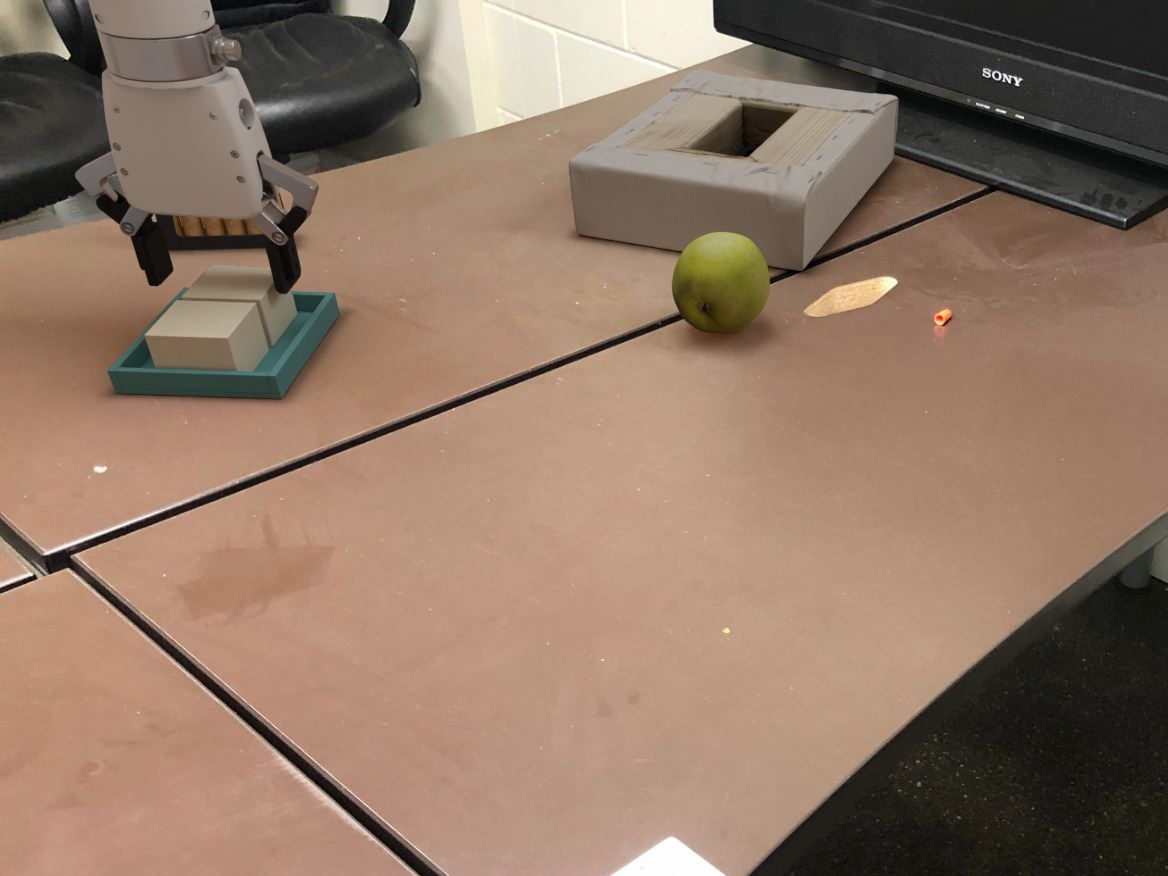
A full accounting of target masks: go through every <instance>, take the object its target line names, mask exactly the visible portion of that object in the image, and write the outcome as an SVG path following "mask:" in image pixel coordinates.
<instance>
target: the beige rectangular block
mask: <svg viewBox="0 0 1168 876" xmlns="http://www.w3.org/2000/svg"><path fill="white" fill-rule="evenodd" d="M189 287H190V288H189V289H188V290H187V291H186V292H185V293H184V294H183V295H182V297H181V298H182V300H187V301H215V302H244V303H256V305H257V309H258V312H259V316H260V320H261V323H262V327H263V330H264V334H265V337H266V341H267V344H268V347H273V346H274V345H275V344H276V342H277V341H278V340H279V338H280V337H281V335H282V334H283V333H284V331H285V330H286V329H287V327H288V326H289V325H290V323H291V322H292V321H293V319H294V318H295V317H296V315H297V310H296V306H295V302H294V298H293V294H292V291H293V290H292V288H291V289H290V291H289V292H288V293H287V294H279V293H278V292H277V291H276V289H275V285H274V281H273V277H272V273H271V268H270V266H249V265H248V266H246V265H245V266H244V265H221V264H220V265H219V264H217V265H214V264H210V265H209V266H208V267H207V268H206V269H205V270H204V271H203V272H202V273H201V275H200V276H198V277H197V278H196V280H195V281H194V282H193V283H192V284H191V285H190V286H189Z"/></svg>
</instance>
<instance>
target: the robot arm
mask: <svg viewBox="0 0 1168 876" xmlns="http://www.w3.org/2000/svg"><path fill="white" fill-rule="evenodd" d="M87 2H88V4H89V8H90V12H91V16H92V19H93V21H94V22H93V23H94V26H95V28H96V29H95V30H96V32H97V35H98V40H99V42H100V45H101V49H102V53H103V56H104V60H105V63H106V69H104V70H103V72H102V73H101V87H102V101H103V109H104V117H105V124H106V131H107V136H108V141H109V145H110V150H111V151H109V152H107V153H105V154H103V155H102V156H99V157H98V158H96V159H93V160H91V161H90V162H88V163H86V164H84V165H83V166H81V167H80V168H79V169H77V170H76V171H75V173H74V177H75V179H76V181H77V182H78V183H79V184H80V185H81V186H82V188H83V189H84V190H85V191H86V192H87V193H88V195H89V197H90V198H91V199H92V198H93V199H94V200H95V205H96V207H97V209H98V210H100V211H101V212H102V213H104V214H105V215H106V216H108V217H109V218H110V219H111V220H113V222H114V223H116V224H118V226H119V229H120V231H121V232H122V233H123V234H124V235H125V236H127V237H130V240H131V243H132V246H133V250H134V253H135V256H136V260H137V263H138V266H139V268H140V270H141V271H143V272H144V274H145V277H146V280H147V284H148V286H150V287H159V286H161V285H162V284H163V283H164V282H165V281H166V279H168V278H169V277H170V276H171V275H172V274H173V272H174V265H173V262H172V258H171V255H170V251H168V247H167V244H166V240H165V237H164V234H163V230H162V227H161V226H160V225H159V222H157V221H153V217H154V216H155V214H161V215H174V216H179V217H180V216H188V217H201V218H202V217H205V218H222V219H249V220H250V221H251V222H252V223H253V224H254V225H256V226H257V227H258V228H259V229H260V230H261V231H262V232H263V233H264V234H265V235H266V236H267V237H268V238H269V239H270V242H269V243H268V244H267V245H266V248H265V252H266V256H267V260H268V264H269V267H270V268H271V273H272V277H273V281H274V285H275V289H276V291H277V292H278V293H279V294H287V293H288V292H289V291H290V289H291V290H292V288H293V287H294V286H295V285H296V283H297V282H298V280H299V279H300V278H301V275H302V266H301V262H300V257H299V254H298V252H299V251H298V247H297V244H296V240H295V236H294V235H295V233H296V232H297V231H298V230H299V229H300V227H302V225H304V223H305V222H306V221H307V219H308V218H309V217H310V216H311V214H312V211H313V207H314V205H315V202H316V199H317V196H318V192H319V189H320V185H319V184H318V182H317V181H316V180H314V179H312V178H311V177H308V176H307V175H305V174H303V173H301V172H298V171H297V170H296V169H293V168H291V167H290V166H287V165H285V164H283V163H281V162H279V161H278V160H276V159H274V158H273V156H272V152H271V150H270V146H269V143H268V139H267V137H266V134H265V130H264V128H263V124H262V122H261V118H260V117H259V113H258V112H257V109H256V108H257V107H256V106H255V103H254V101H253V98H252V96H251V93H250V91H249V89H248V87H247V85H246V83H245V80H244V79H243V76H242V74H241V72H240V70H239V69H238V68H237V67H232V66H226V65H227V64H228V63H229V62H230V61H241V59H242V48H241V44H240V42H239V41H238V39H237V40H236V39H228V38H227V37H225V36H223V34H222V33H221V29H220V25H219V24H216V19H215V15H214V12H213V7H212V3H211V0H87ZM115 173H116V174H117V178H118V181H119V184H120V188H121V190H122V193H123V194H121V193H120V192H118V190H116V189H114V188H113V187H112V185H111V183H110V182H109V180H108V177H109V176H112V175H114V174H115ZM280 188H281V189H283V190H285V191H287V192H288V193H290V194H291V196H292V204H291V206H290V210H289V211H287V210H286V209H285V207H284V208H283V207H282V206H280V205H279V204H278V203H277V202H276V201H275V200H274V198H275V197H277V196H278V194H279V193H280Z"/></svg>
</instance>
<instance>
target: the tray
mask: <svg viewBox="0 0 1168 876" xmlns="http://www.w3.org/2000/svg"><path fill="white" fill-rule="evenodd" d="M190 287H191V286H189V287H188V286H187V287H186V286H185V287H183V288H182V289H181V290H180V291H179V292H178V293H177V295H175V297H174V298H173V299H172V300H171V301H170V302H169V303H168V304H167V305H166V306H165V307H164V308H163V310H162V311H161V312H160V313H159V314H158V315H157V316H156V317H155V318H154V319H153V320H152V321H151V323H150V324H148V326H147V327H146V328H145V329H144V330H143V331H142V332H141V333H140V334H139V335H138V336H137V338H136V339H135V340H134V341H133V342H132V343H131V344H130V345H129V346H128V347H127V348H126V349H125V351H124V352H123V353H122V354H121V355H120V356H119V357H118V358H117V359H116V360H115V361H114V363H113V364H111V365H110V367H109V368H108V369H107V374H108V377H109V380H110V382H111V385H112V387H113V391H114V393H115V394H121V395H122V394H126V395H150V396H151V395H155V396H182V397H183V396H185V397H187V396H188V397H218V398H247V399H249V398H250V399H276V400H277V399H278V400H279V399H281V400H282V398H283V397H284V396H285V394H286V393H287V392H288V390H289V388H290V387H291V386H292V384H293V382H294V381H295V380H296V379H297V377H298V375H299V374H300V373H301V371H302V370H303V368H304V366H305V365H307V362H308V361H309V359H310V358H311V357H312V355H313V354H314V352H315V351H316V349H317V348H318V347H319V345H320V344H321V342H322V341H323V339H324V338H325V336H326V335H327V333H328V331H330V329H331V328H332V326H333V324H334V323H335V321H336V320H337V319H338V317H339V316H340V315H341V313H340V309H339V308H340V307H339V305H338V300H337V296H336V292H333V291H331V292H330V291H327V292H326V291H323V292H322V291H299V290H291V291H292V294H293V298H294V302H295V306H296V310H297V315H296V317H295V318H294V319H293V321H292V322H291V323H290V325H289V326H288V327H287V329H286V330H285V331H284V333H283V334H282V335H281V337H280V338H279V340H278V341H277V342H276V344H275V345H274V346H273V347H268V348H269V351H268V353H267V354H266V355H265V357H264V358H263V359H262V361H261V362H260V363H259V365H258V366H257V367H256V369H255V370H254V371H253V372H247V371H217V370H186V369H156V368H155V365H154V362H153V359H152V356H151V353H150V350H149V347H148V344H147V341H146V339H145V334H146V333H147V332H148V331H149V330H150V328H151V327H152V326H153V325H154V324H155V323H156V322H157V321H158V320H159V319H160V318H161V316H162V315H163V314H164V313H165V312H166V311H167V310H168V309H169V308H170V307H171V306H172V304H173V303H174V302H175V301H176V300H182V298H181V297H182V295H183V294H184V293H185V292H186V291H187V290H188V289H189V288H190Z"/></svg>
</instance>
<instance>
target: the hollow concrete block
mask: <svg viewBox="0 0 1168 876" xmlns="http://www.w3.org/2000/svg"><path fill="white" fill-rule="evenodd" d="M898 115H899V98H898V97H897V96H896V95H893V94H886V93H885V94H883V93H876V92H872V93H870V92H862V91H854V90H847V89H846V90H845V89H838V88H831V87H824V86H823V87H822V86H815V85H809V84H801V83H792V82H785V81H777V80H772V79H771V80H769V79H763V78H762V79H761V78H755V77H747V76H746V77H745V76H739V75H732V74H725V73H718V72H715V71H712V70H706V69H700V68H699V69H694V70H692V71H690V72H689V73H688V74H686V76H684V77H683V78H682V79H681V81H679V82H678V83H676V84H674V85H673V86H671V87H670V89H669V92H668V93H667V94H665V95H664V96H663V97H661V98H660V99H658V100H657V101H655V103H653V104H652V105H651V106H649V107H648V108H646V109H644V110H643V111H642V112H641V113H639V114H638V115H636V116H634V117H633V118H632V119H631V120H629V121H627V123H625V124H624V125H622V126H620V127H619V128H618V129H616V130H615V131H613V132H612V133H611V134H609V135H608V136H606V137H605V138H604V139H602V140H601V141H597V142H593V143H591V144H590V145H588V146H587V147H586V148H584V149H583V150H581V151H580V152H578V153H577V154H576V155H574V156H573V157H572V158H571V159H570V160H569V161H568V173H569V184H570V193H571V201H572V209H573V218H574V226H575V231H576V233H577V234H579V235H582V236H586V237H592V238H599V239H604V240H611V241H616V242H617V241H618V242H623V243H628V244H635V245H640V246H641V245H642V246H645V247H646V246H647V247H652V248H657V249H658V248H659V249H664V250H670V251H676V252H683V251H684V249H685V248H686V247H687V246H688V245H689V244H690V243H691V242H693V241H694V240H695V239H697V238H699V237H701V236H703V235H706V234H709V233H714V232H729V233H735V234H739V235H742V236H745V237H747V238H749V239H750V240H751V241H752V242H753V243H754V244H755V245H756V246H757V247H758V249H759V250H760V252H761V253H762V255H763V257H764V259H765V261H766V263H767V267H773V268H780V269H784V270H792V271H799V272H801V271H804V269H805V268H806V267H807V266H808V265H809V263H811V261H812V260H813V258H814V257H815V256H816V255H817V253H818V252H819V251H820V250H821V248H822V247H823V246H824V245H825V243H827V241H828V240H829V239H830V238H831V236H833V234H834V233H835V231H836V230H837V229H838V228H839V227H840V225H841V224H842V223H843V221H845V219H846V218H847V217H848V215H850V213H851V212H852V211H853V209H854V208H856V206H857V205H858V203H859V202H860V201H861V199H862V198H863V197H864V196H865V195H866V193H867V192H868V191H869V189H870V188H871V187H872V186H873V185H874V184H875V183H876V181H878V179H879V178H880V176H881V175H882V174H883V173H884V172H885V170H886V169H887V168H888V167H889V165H890V164H891V163H892V162H893V160H894V157H895V148H896V142H897V141H896V139H897V131H898V120H899V119H898Z"/></svg>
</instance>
